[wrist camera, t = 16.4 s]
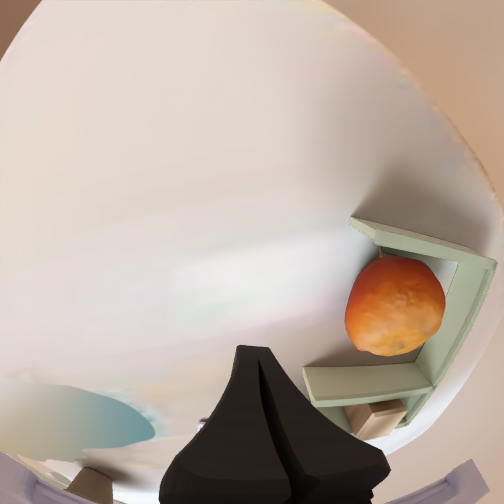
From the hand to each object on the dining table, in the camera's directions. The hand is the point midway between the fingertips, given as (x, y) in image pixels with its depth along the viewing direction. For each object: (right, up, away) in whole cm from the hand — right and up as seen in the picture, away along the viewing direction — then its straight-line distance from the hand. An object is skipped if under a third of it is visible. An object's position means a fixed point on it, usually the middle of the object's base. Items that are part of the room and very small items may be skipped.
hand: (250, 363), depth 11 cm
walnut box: (+12, -10, +14) cm, 21 cm away
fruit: (+10, +2, +10) cm, 15 cm away
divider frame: (+12, -3, +12) cm, 17 cm away
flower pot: (-31, -40, +21) cm, 55 cm away
